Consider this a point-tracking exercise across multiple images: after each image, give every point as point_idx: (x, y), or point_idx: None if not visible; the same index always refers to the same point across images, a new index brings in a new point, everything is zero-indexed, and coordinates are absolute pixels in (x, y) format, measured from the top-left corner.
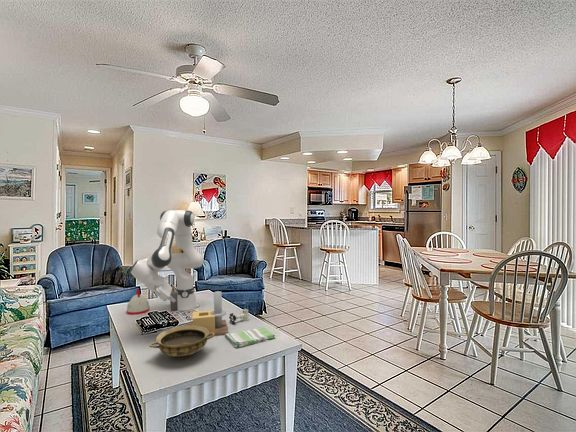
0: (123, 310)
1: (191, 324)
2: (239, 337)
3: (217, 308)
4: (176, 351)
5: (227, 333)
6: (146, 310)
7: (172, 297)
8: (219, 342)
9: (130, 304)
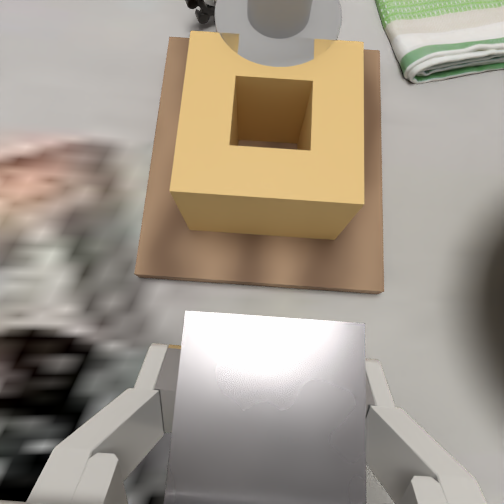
0: None
1: (171, 241)
2: (460, 17)
3: None
4: None
5: (432, 54)
6: None
7: (424, 437)
8: (470, 117)
9: None
